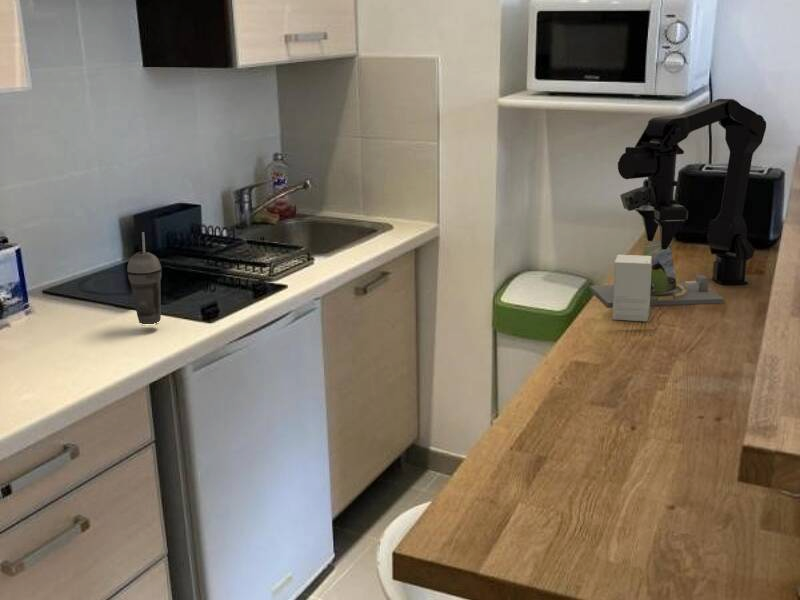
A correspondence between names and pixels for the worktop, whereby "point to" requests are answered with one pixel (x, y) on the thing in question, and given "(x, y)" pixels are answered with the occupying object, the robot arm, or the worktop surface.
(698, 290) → the tan curved band
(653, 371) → the worktop surface
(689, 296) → the base
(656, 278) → the beverage can
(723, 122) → the robot arm
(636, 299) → the supplement box
